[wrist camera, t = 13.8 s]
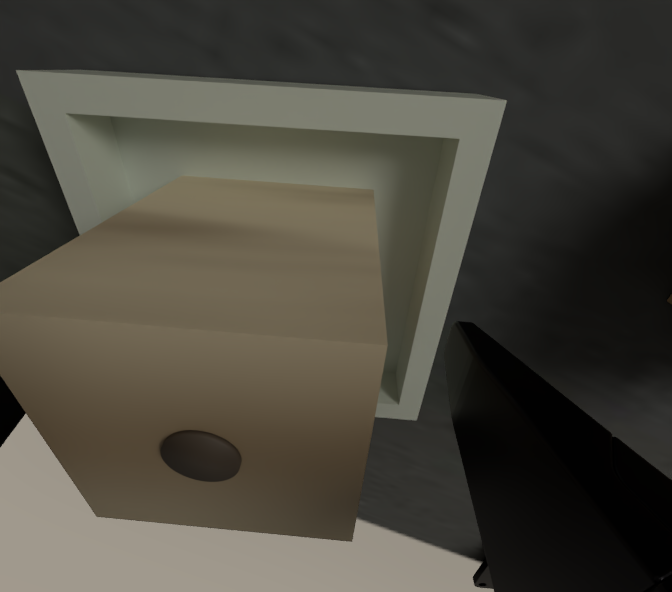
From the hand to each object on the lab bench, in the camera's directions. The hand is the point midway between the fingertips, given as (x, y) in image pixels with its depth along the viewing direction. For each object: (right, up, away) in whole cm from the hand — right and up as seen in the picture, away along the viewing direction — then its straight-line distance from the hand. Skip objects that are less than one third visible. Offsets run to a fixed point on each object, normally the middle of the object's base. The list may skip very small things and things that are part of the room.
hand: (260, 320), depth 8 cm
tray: (0, +2, +3) cm, 3 cm away
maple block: (0, +1, +2) cm, 3 cm away
